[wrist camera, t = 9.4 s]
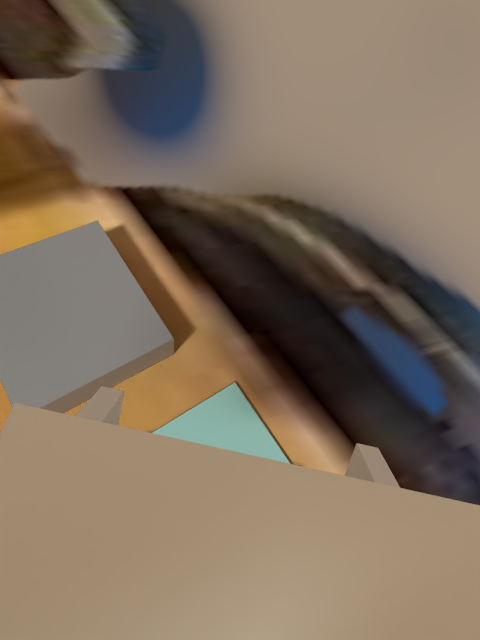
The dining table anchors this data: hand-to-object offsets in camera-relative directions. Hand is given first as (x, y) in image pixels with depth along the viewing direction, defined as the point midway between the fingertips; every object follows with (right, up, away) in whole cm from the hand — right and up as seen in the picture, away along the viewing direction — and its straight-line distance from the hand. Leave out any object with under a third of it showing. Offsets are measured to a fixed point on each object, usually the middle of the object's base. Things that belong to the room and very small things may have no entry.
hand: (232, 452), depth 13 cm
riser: (-14, +4, +20) cm, 25 cm away
